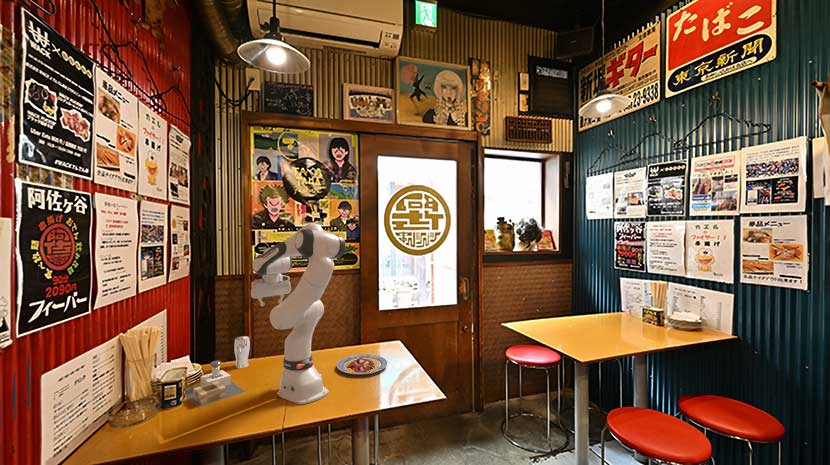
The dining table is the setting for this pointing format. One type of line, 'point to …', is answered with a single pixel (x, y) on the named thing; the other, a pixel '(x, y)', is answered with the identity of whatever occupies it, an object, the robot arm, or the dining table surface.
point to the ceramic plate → (361, 364)
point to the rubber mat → (230, 391)
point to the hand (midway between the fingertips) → (271, 304)
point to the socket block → (217, 379)
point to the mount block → (209, 392)
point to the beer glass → (242, 351)
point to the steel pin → (215, 369)
